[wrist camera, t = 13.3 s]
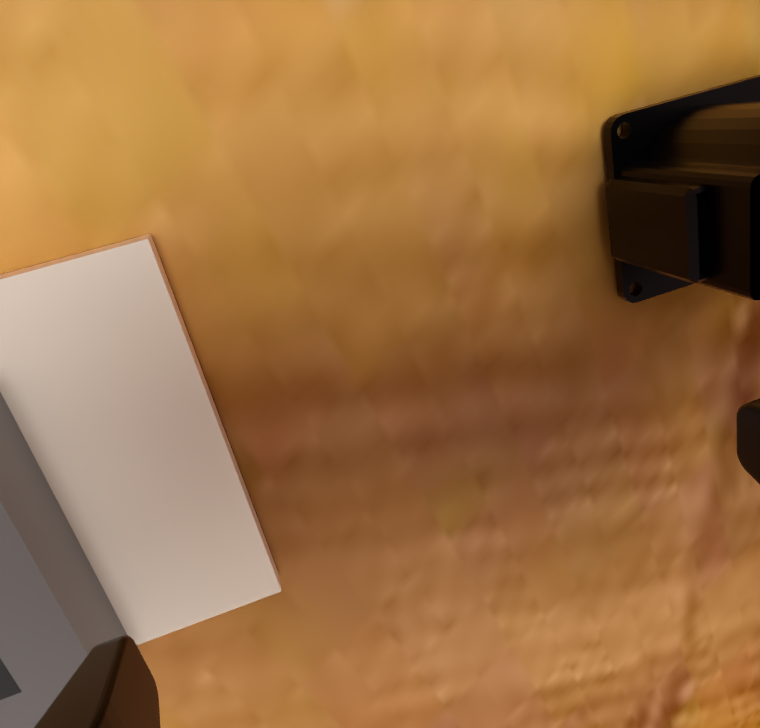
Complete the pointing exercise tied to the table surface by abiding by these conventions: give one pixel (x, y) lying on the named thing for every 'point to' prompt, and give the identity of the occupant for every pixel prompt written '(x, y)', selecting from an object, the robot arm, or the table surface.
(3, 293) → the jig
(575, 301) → the table surface
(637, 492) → the table surface
